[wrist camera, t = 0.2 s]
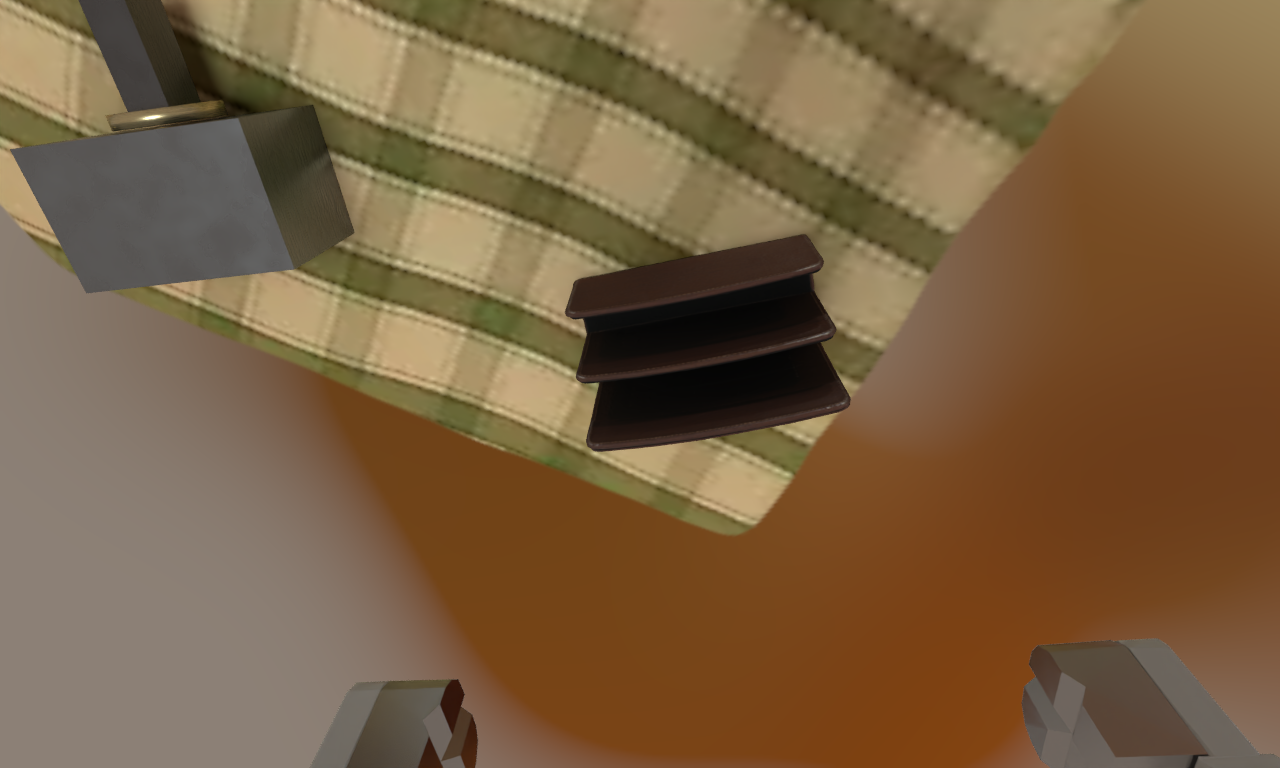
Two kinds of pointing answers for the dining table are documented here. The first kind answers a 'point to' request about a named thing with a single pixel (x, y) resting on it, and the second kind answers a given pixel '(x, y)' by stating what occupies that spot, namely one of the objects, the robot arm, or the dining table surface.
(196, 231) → the housing
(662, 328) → the letter holder
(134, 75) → the brass flanged shaft
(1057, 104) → the dining table surface
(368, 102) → the dining table surface
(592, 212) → the dining table surface
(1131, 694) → the robot arm
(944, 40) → the dining table surface
